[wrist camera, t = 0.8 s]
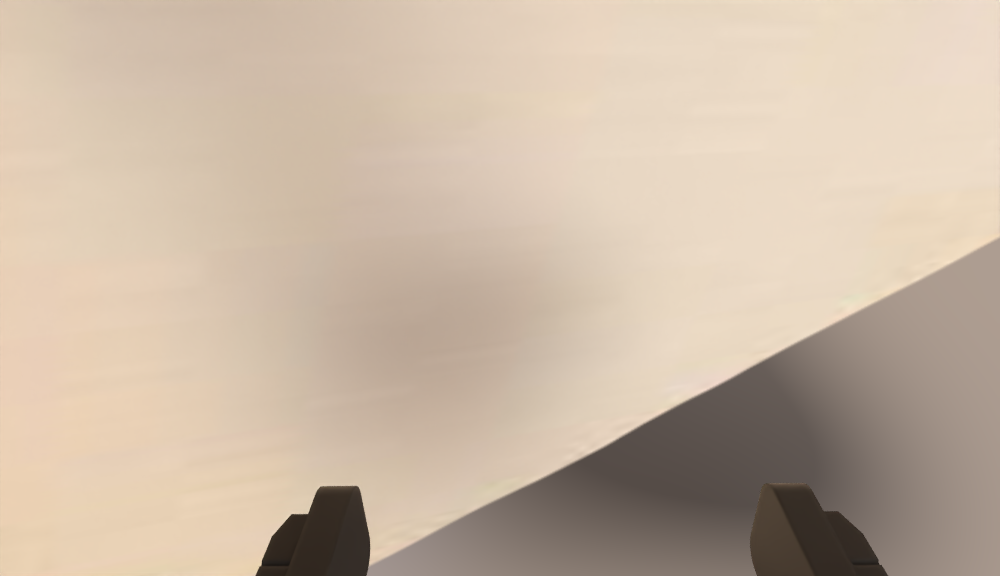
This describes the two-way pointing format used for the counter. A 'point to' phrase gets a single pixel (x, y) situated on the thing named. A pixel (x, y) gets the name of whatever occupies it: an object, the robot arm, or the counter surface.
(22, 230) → the counter surface
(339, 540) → the robot arm
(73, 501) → the counter surface
